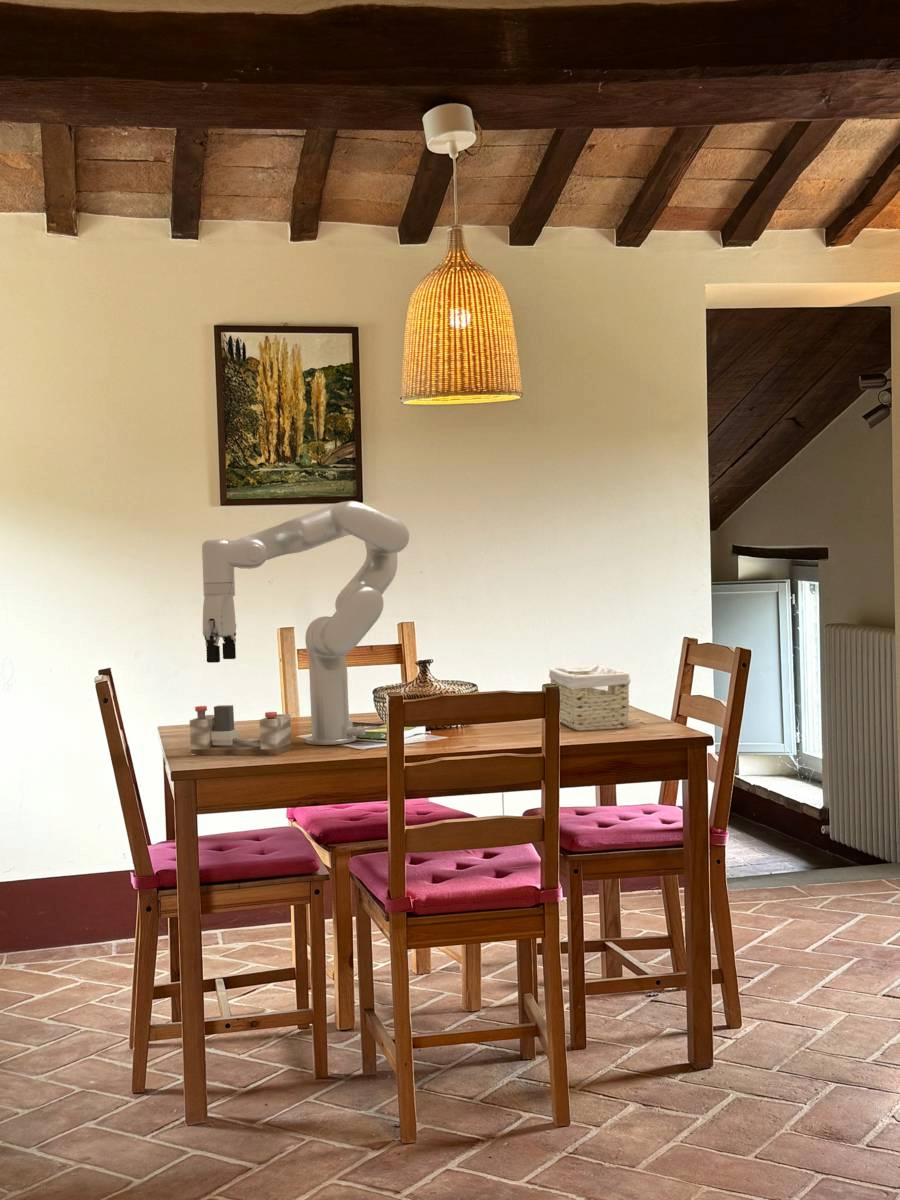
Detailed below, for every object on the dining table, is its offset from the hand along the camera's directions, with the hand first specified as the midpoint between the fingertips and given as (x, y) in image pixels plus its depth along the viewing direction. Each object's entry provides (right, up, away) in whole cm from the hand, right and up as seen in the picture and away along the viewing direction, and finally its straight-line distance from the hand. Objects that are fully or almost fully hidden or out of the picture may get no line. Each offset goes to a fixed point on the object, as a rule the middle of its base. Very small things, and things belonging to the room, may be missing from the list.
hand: (221, 660), depth 315 cm
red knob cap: (+13, -15, -5) cm, 20 cm away
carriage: (+1, -20, +1) cm, 20 cm away
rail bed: (+5, -22, 0) cm, 23 cm away
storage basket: (+92, -18, +25) cm, 98 cm away
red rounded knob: (-5, -14, -1) cm, 15 cm away
